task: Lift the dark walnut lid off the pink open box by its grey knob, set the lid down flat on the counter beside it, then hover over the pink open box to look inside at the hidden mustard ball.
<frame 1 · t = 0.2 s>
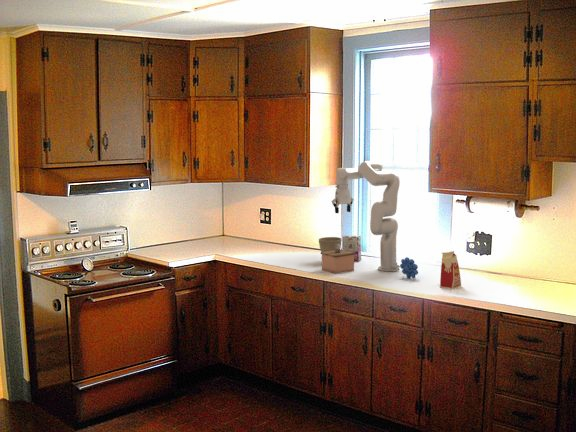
hand: (342, 212, 432), 31 cm above the worktop, tool pointing down, fingers open, 9 cm apart
candy bar box: (352, 260, 429), on the worktop
lid: (337, 254, 399), point 10 cm above the worktop, touching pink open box
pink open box: (338, 270, 401), on the worktop, touching ball, lid
grapes: (408, 278, 374), on the worktop
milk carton: (449, 287, 351), on the worktop
ball: (337, 265, 400), point 3 cm above the worktop, touching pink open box
plant pot: (330, 263, 422), on the worktop
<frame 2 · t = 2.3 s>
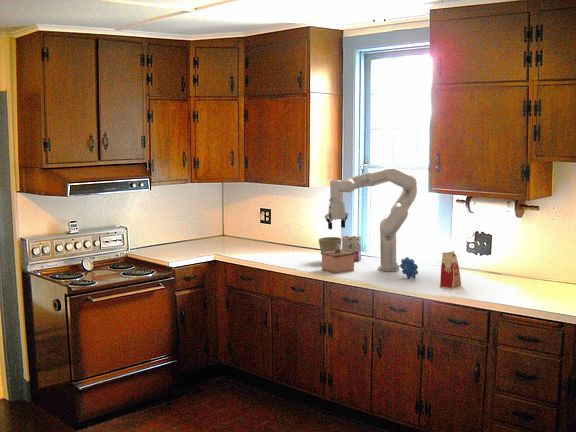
hand: (336, 228, 397), 26 cm above the worktop, tool pointing down, fingers open, 9 cm apart
nothing on the worktop moved.
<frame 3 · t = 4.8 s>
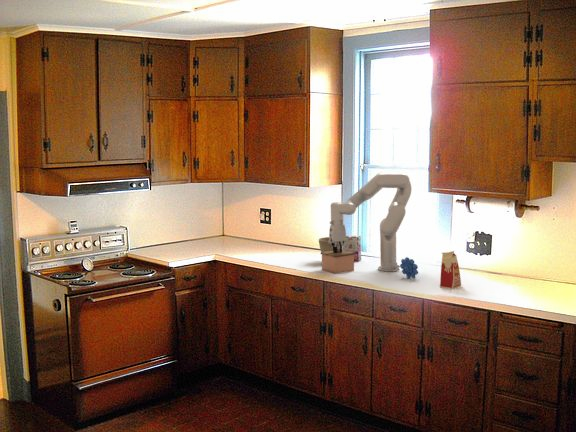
hand: (337, 252, 399), 11 cm above the worktop, tool pointing down, fingers closed on lid, 3 cm apart
lid: (337, 254, 399), point 10 cm above the worktop, touching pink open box, gripper
everything else where it was.
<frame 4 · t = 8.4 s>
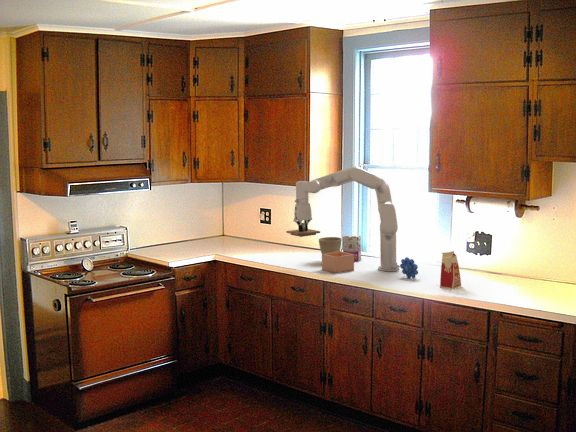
hand: (303, 230, 398), 25 cm above the worktop, tool pointing down, fingers closed on lid, 3 cm apart
lid: (303, 232, 398), point 24 cm above the worktop, touching gripper
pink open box: (338, 270, 401), on the worktop, touching ball
everything else where it was.
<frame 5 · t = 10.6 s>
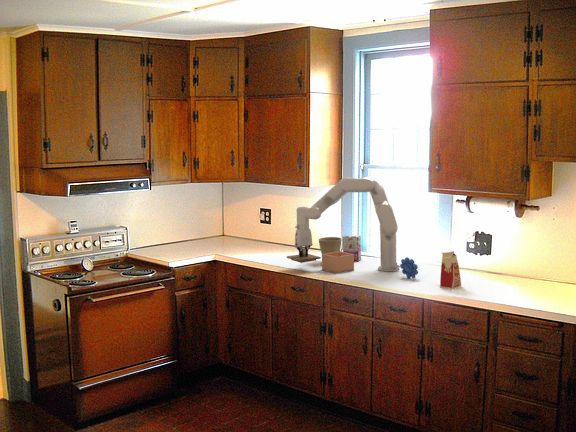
hand: (303, 256, 400), 9 cm above the worktop, tool pointing down, fingers closed on lid, 3 cm apart
lid: (303, 258, 401), point 8 cm above the worktop, touching gripper
everything else where it was.
when the fingers open (4 cm above the worktop, at t = 12.2 s): lid drops 2 cm, point 1 cm above the worktop.
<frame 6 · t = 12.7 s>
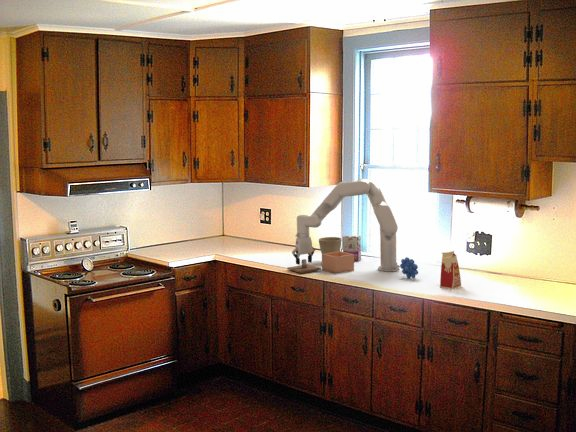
hand: (303, 263, 401), 5 cm above the worktop, tool pointing down, fingers open, 8 cm apart
lid: (304, 269, 401), point 1 cm above the worktop
everything else where it was.
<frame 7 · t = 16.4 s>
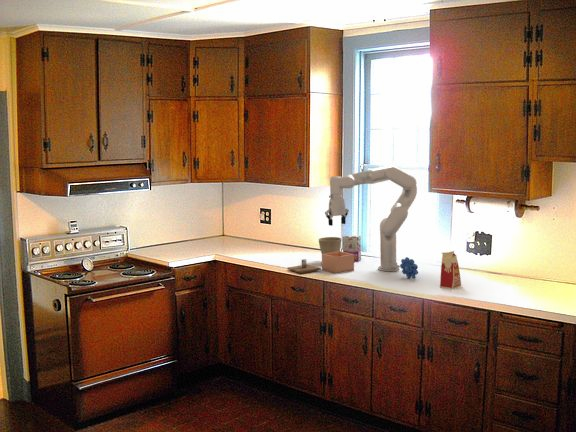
hand: (337, 224, 397), 28 cm above the worktop, tool pointing down, fingers open, 9 cm apart
nothing on the worktop moved.
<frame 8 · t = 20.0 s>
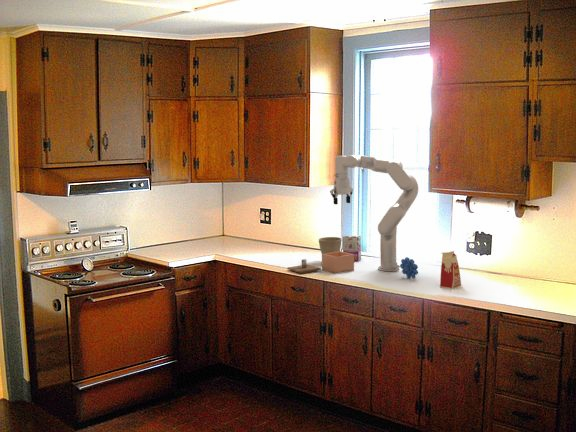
hand: (342, 203, 402), 40 cm above the worktop, tool pointing down, fingers open, 9 cm apart
nothing on the worktop moved.
at the end: lid inside the target area (0.1 cm from its centre), point 0.8 cm above the worktop; lid tilted 0°; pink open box moved 0.0 cm from its start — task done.
